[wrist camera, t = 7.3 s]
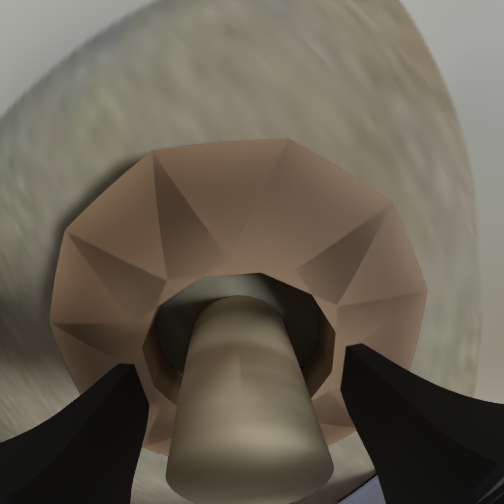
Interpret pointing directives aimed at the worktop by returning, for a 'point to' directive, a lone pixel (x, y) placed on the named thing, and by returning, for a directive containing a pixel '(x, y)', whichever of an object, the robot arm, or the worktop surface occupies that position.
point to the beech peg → (245, 413)
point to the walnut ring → (234, 265)
